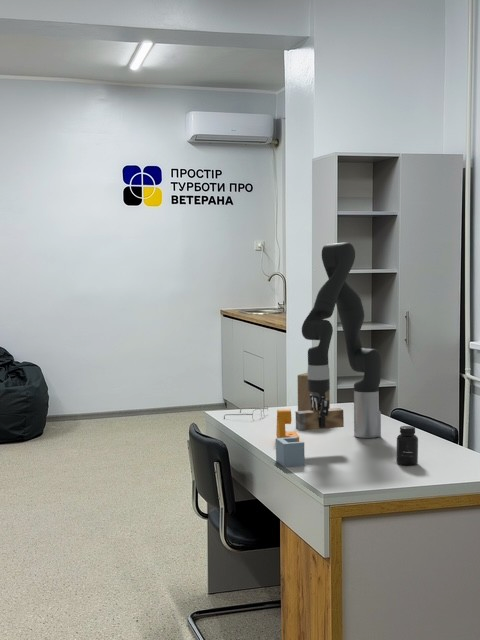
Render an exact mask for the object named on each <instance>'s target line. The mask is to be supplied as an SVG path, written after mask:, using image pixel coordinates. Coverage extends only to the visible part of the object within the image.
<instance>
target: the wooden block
mask: <svg viewBox="0 0 480 640" xmlns="http://www.w3.org/2000/svg"><path fill="white" fill-rule="evenodd" d="M330 390H331V389H330ZM330 390H329V391H328V392H325V396H326V400H329V409H331V408H330V407H331V406H330V405H331V403H330V401H331V398H330ZM312 394H313V392H310V391H308V373H307V372H306V373H301V374H298V375H297V411H308V410H311V404H310V397H309V396H310V395H312Z"/></svg>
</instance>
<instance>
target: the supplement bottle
mask: <svg viewBox="0 0 480 640" xmlns="http://www.w3.org/2000/svg"><path fill="white" fill-rule="evenodd" d="M418 462H419V438H418V436H417V435H416V427H414V426H413V425H401V426H400V427H399V434H398V435H397V437H396V463H397V464H398V465H400V466H405V467H406V466H407V467H411V466H417V465H418Z"/></svg>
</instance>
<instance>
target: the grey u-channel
mask: <svg viewBox="0 0 480 640" xmlns="http://www.w3.org/2000/svg"><path fill="white" fill-rule="evenodd" d="M275 461H276V462H277V463H278V464H280V465H281V466H282V467H284V468H286V467H287V468H289V467H302V466H305V465H306V464H305V442H304V441H299V442H297V437H288V438H277V437H276V438H275Z"/></svg>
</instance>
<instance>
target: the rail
mask: <svg viewBox="0 0 480 640" xmlns="http://www.w3.org/2000/svg"><path fill="white" fill-rule="evenodd" d="M323 413H324V412H323ZM294 414H295V429H296V430H297V431H299V432H304V431H313V430H315V431H316V430H325V429H326V430H327V429H334V428H336V429H337V428H344V425H345V423H344V417H345V416H344V409H342V408H341V407H333V408H330V409H329V410H328V416H326V417H325V425H326V427H325V428H319V416H318V411H317V410H308V411H298V410H297V411H295V413H294Z"/></svg>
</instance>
